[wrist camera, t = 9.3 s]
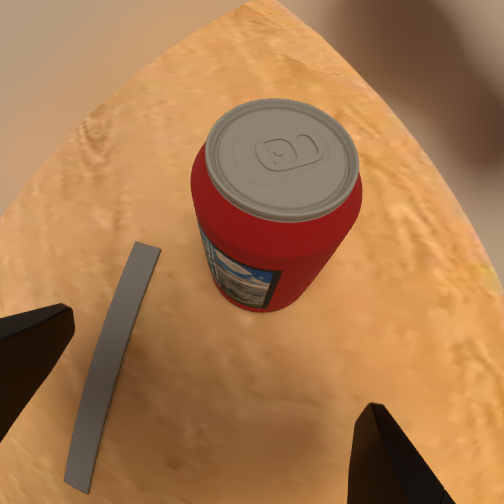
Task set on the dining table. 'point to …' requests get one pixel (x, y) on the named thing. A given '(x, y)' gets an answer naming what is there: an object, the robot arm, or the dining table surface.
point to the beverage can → (274, 199)
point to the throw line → (108, 365)
